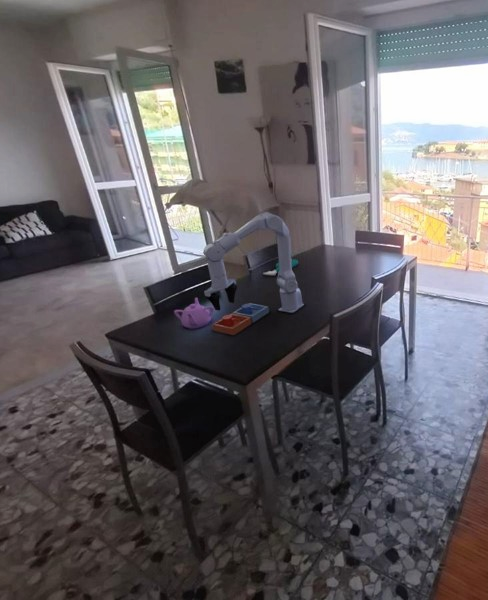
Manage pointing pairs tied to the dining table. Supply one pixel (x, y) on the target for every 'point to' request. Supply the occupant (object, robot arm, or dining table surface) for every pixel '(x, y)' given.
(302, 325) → the dining table surface
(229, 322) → the red scoop
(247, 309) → the blue measuring cup
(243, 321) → the orange tray
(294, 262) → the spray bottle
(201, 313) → the teapot
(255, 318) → the blue bin
